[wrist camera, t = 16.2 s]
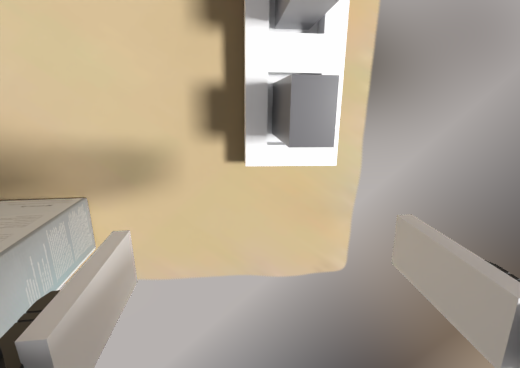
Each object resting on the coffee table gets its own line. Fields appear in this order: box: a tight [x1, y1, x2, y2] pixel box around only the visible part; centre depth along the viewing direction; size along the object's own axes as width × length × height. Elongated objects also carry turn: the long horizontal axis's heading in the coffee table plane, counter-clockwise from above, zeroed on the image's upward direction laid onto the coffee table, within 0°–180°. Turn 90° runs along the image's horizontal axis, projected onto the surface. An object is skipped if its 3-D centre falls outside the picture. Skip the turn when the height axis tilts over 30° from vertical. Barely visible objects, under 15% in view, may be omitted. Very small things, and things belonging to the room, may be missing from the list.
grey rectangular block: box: [272, 74, 339, 147], centre depth 31 cm, size 4×6×12 cm, turn 179°
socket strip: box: [244, 0, 349, 166], centre depth 30 cm, size 11×25×12 cm, turn 179°
